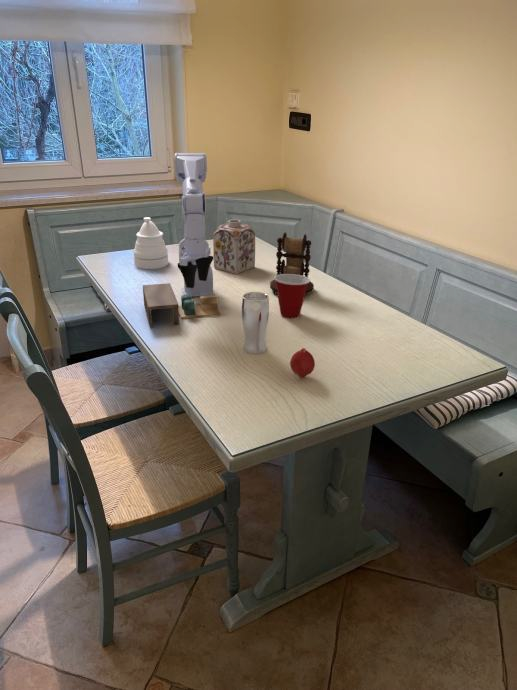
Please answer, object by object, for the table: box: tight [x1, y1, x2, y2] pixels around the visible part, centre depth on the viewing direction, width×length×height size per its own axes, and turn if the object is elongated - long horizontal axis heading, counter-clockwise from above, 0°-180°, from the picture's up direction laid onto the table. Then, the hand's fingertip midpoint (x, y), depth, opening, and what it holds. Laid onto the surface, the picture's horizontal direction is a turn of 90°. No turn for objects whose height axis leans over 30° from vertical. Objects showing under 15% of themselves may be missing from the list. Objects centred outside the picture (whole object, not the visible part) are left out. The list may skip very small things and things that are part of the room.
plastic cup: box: [273, 274, 311, 319], centre depth 158 cm, size 11×11×12 cm
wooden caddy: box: [142, 282, 180, 329], centre depth 157 cm, size 8×18×6 cm, turn 16°
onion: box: [289, 347, 316, 379], centre depth 125 cm, size 6×6×8 cm
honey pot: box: [133, 216, 169, 270], centre depth 199 cm, size 13×13×18 cm
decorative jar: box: [212, 219, 256, 275], centre depth 197 cm, size 12×12×18 cm
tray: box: [178, 294, 221, 320], centre depth 161 cm, size 12×9×5 cm
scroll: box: [269, 231, 315, 296], centre depth 175 cm, size 15×15×20 cm
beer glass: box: [241, 291, 270, 355], centre depth 136 cm, size 7×7×15 cm
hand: (196, 283), depth 153 cm, fingers open, 7 cm apart
